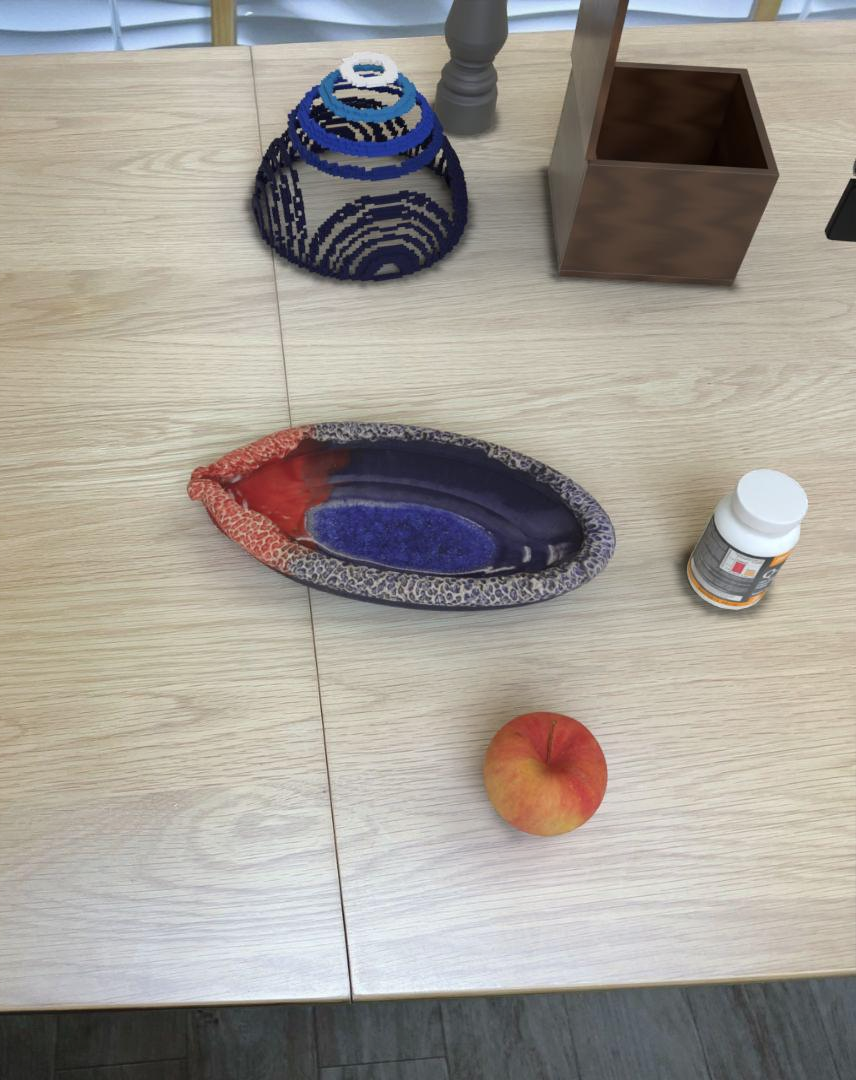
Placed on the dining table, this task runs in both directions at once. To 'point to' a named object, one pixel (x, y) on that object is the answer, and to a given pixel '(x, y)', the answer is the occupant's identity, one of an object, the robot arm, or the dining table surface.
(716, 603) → the pill bottle
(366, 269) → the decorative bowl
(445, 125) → the candle holder
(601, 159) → the chest
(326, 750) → the dining table surface
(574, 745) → the apple
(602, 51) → the lid
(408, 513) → the dish
